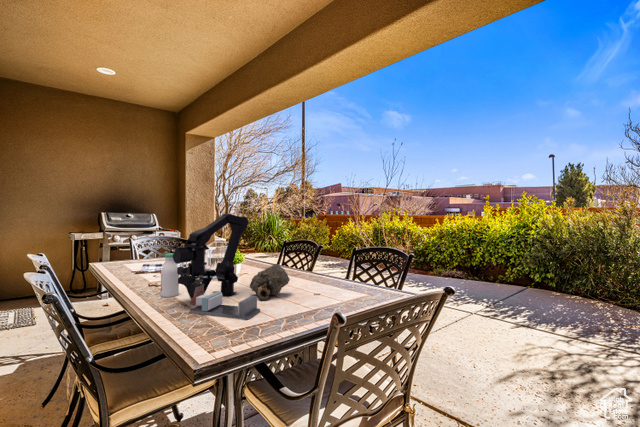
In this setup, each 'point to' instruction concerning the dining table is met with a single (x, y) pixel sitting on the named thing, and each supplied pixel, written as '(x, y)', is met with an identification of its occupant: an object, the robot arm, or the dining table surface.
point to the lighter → (197, 291)
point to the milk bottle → (169, 277)
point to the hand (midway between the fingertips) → (197, 295)
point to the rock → (269, 281)
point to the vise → (232, 309)
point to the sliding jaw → (209, 301)
